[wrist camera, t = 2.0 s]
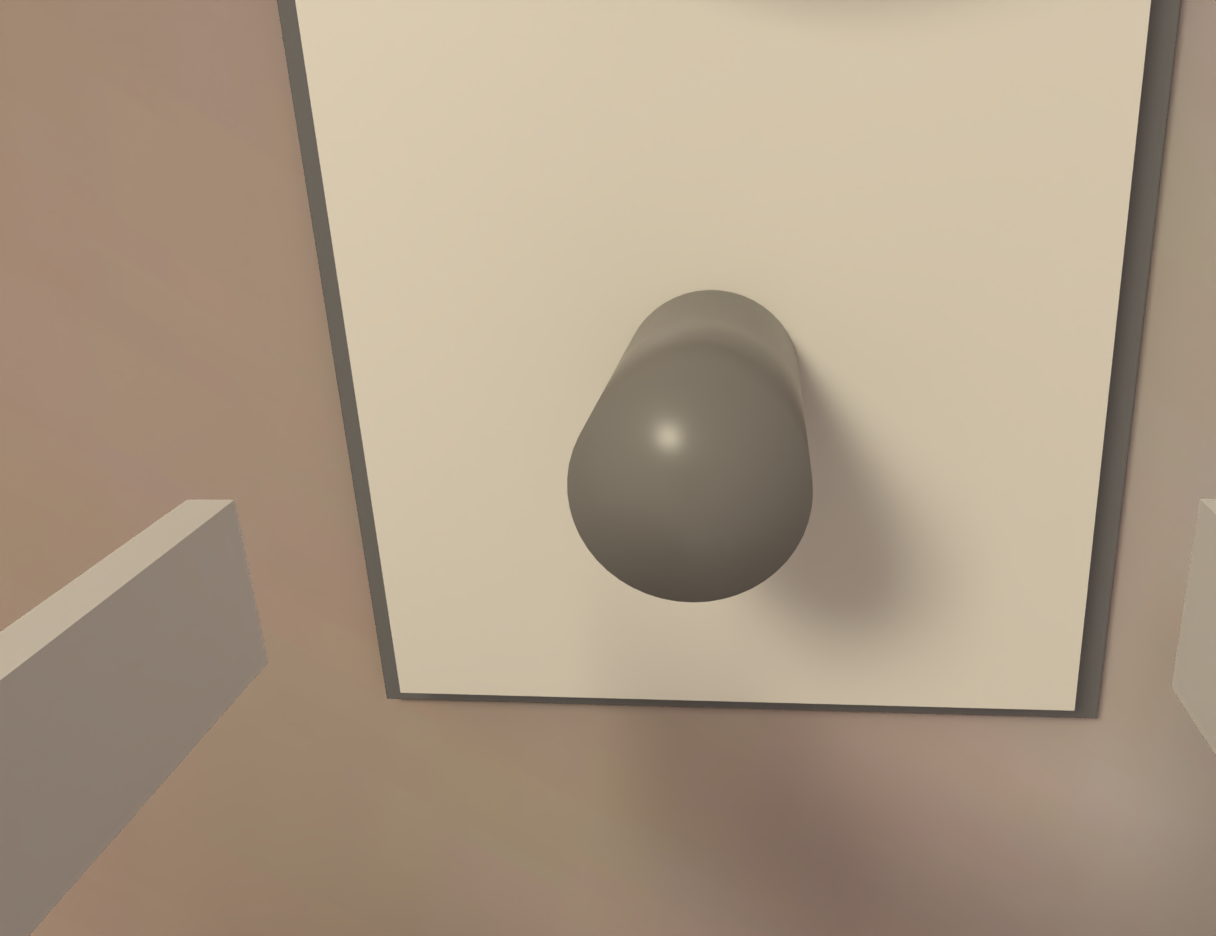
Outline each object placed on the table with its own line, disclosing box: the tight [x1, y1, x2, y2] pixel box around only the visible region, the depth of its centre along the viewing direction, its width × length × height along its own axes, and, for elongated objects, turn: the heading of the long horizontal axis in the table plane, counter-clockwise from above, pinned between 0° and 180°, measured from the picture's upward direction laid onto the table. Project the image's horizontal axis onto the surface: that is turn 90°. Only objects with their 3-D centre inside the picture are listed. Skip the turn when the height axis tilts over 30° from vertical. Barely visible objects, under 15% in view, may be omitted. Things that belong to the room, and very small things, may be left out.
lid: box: [295, 0, 1151, 711], centre depth 22 cm, size 19×19×9 cm
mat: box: [277, 0, 1181, 718], centre depth 27 cm, size 21×21×1 cm
